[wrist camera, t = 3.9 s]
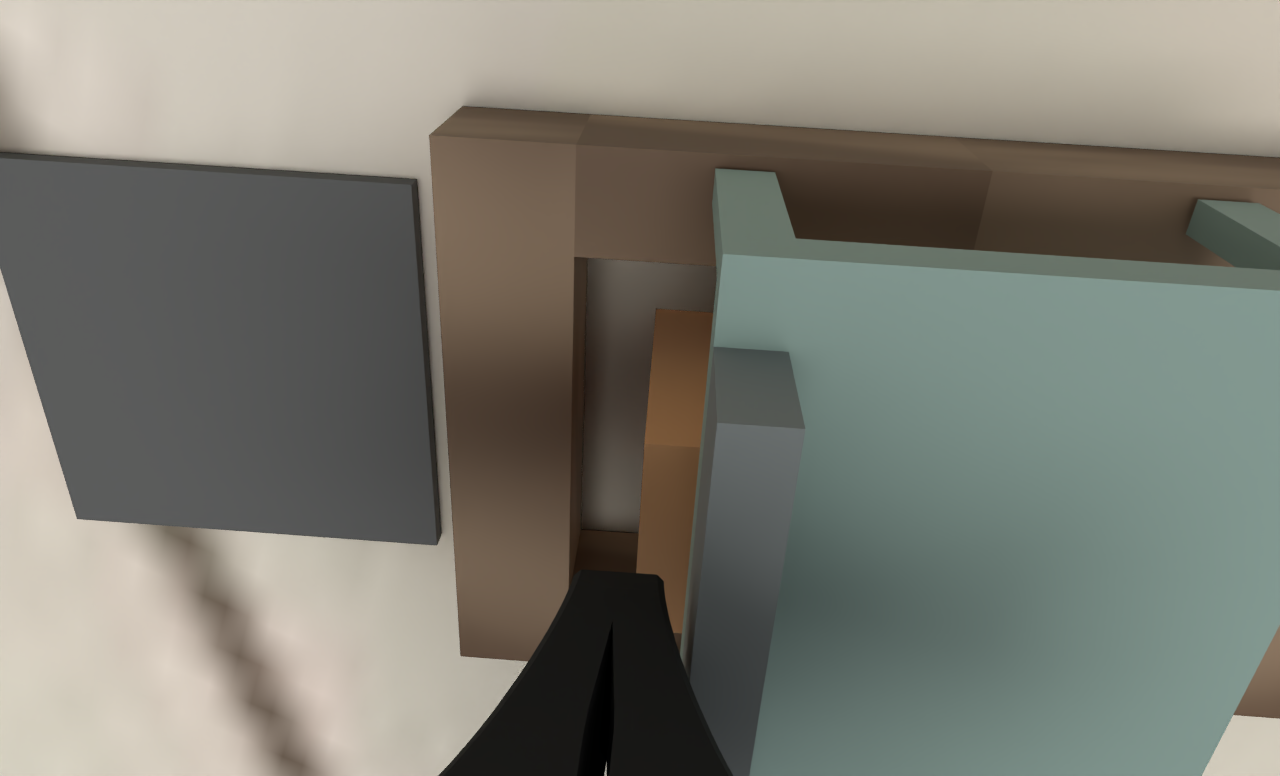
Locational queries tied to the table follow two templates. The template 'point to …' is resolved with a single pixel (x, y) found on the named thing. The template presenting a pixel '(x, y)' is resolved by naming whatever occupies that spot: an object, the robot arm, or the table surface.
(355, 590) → the table surface
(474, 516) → the brown flat rectangular frame
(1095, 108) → the table surface
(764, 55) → the table surface
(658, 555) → the terracotta block
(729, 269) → the sliding cover
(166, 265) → the rubber mat
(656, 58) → the table surface
